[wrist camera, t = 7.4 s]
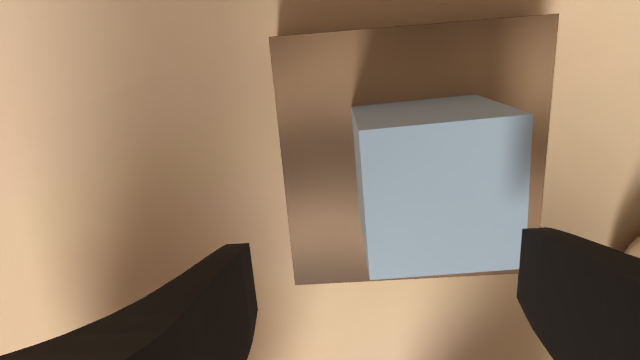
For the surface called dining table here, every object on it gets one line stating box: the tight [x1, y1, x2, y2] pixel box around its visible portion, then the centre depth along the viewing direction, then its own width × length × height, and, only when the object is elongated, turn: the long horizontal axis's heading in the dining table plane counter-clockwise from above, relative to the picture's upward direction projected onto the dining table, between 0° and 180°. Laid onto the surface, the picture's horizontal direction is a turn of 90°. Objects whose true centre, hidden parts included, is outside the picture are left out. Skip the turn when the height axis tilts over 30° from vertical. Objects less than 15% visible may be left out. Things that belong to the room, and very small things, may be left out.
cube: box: [351, 95, 533, 280], centre depth 15 cm, size 5×5×5 cm
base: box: [269, 14, 559, 285], centre depth 19 cm, size 11×11×2 cm
